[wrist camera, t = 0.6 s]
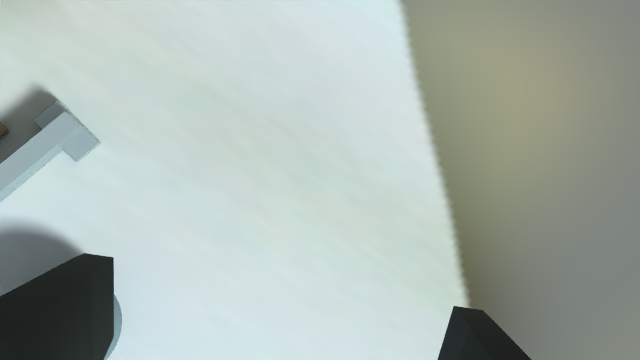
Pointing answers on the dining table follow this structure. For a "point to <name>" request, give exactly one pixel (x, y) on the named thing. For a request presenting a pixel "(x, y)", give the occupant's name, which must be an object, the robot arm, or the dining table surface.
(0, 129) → the ring cradle
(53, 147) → the grey bar
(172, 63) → the dining table surface
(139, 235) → the dining table surface
